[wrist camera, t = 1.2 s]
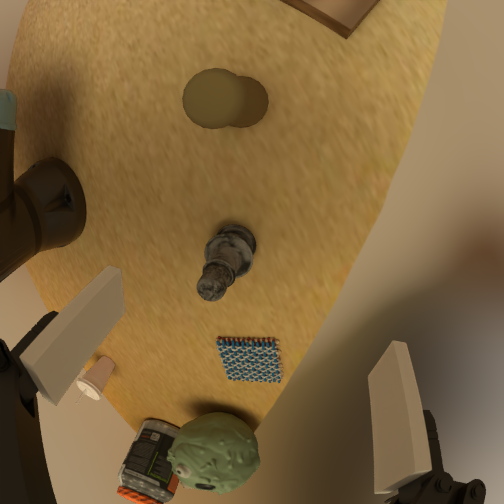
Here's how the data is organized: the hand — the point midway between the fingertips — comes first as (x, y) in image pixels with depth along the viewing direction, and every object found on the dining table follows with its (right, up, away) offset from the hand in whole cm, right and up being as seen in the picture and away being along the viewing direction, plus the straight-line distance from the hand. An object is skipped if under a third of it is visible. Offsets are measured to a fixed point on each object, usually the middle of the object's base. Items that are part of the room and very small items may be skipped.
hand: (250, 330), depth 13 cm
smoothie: (-33, -22, +45) cm, 60 cm away
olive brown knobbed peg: (-1, +20, +16) cm, 26 cm away
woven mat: (0, -14, +34) cm, 37 cm away
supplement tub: (-24, -48, +57) cm, 78 cm away
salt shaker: (-2, +5, +24) cm, 25 cm away
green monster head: (-5, -34, +45) cm, 56 cm away
